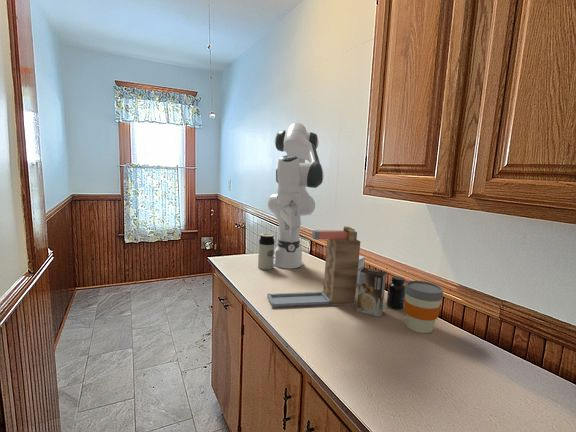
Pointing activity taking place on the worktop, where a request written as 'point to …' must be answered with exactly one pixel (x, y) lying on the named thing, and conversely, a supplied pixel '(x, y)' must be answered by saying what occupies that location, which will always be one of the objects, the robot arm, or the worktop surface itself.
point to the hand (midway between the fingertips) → (289, 233)
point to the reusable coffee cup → (422, 305)
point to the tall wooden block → (341, 269)
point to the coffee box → (371, 291)
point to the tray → (298, 299)
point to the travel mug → (266, 251)
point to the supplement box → (360, 266)
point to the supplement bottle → (396, 293)
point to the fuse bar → (331, 234)
